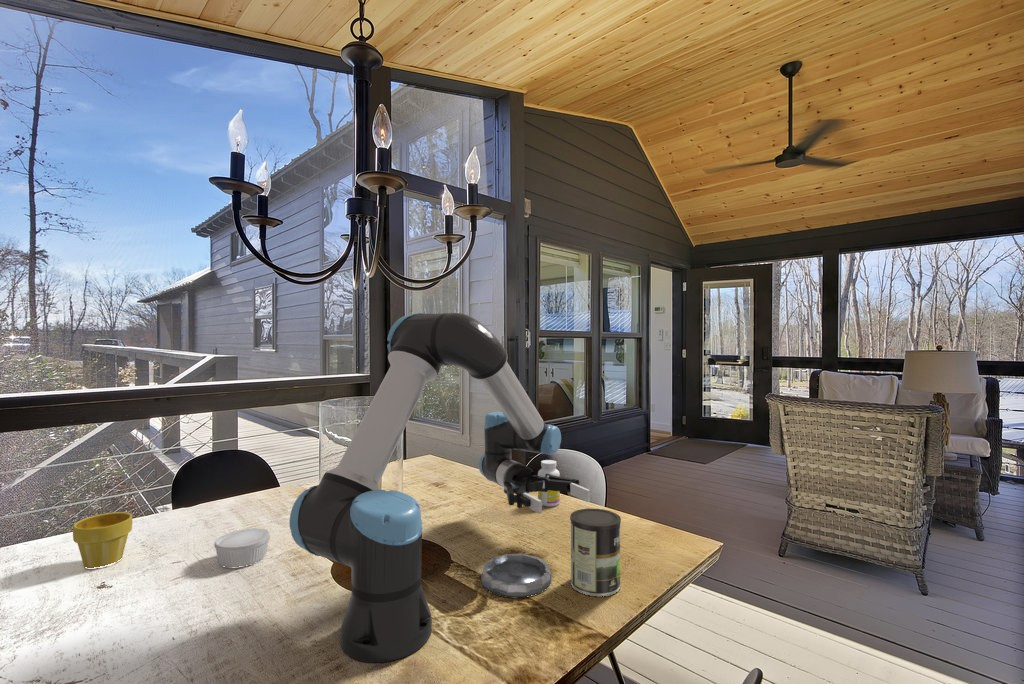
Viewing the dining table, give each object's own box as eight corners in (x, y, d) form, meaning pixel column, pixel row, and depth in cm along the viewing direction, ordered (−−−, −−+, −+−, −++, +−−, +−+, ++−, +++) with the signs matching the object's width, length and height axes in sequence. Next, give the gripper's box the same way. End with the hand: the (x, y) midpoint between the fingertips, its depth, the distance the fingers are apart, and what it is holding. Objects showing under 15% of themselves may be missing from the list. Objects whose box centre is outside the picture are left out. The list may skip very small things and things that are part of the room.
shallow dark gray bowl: (503, 605, 94) (503, 593, 94) (469, 573, 107) (469, 562, 107) (565, 585, 102) (565, 574, 101) (526, 557, 114) (526, 547, 114)
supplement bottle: (563, 502, 152) (563, 460, 152) (553, 508, 146) (553, 465, 146) (544, 498, 156) (544, 458, 155) (533, 504, 150) (534, 462, 150)
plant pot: (137, 562, 112) (136, 519, 112) (76, 578, 104) (75, 532, 104) (128, 548, 119) (127, 508, 119) (70, 563, 111) (70, 520, 111)
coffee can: (620, 574, 106) (620, 509, 106) (620, 600, 96) (621, 528, 96) (572, 570, 108) (572, 506, 108) (567, 594, 98) (568, 523, 98)
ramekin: (224, 551, 117) (224, 529, 117) (275, 547, 120) (274, 525, 120) (206, 574, 107) (206, 549, 106) (263, 568, 109) (263, 544, 109)
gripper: (555, 483, 136) (607, 507, 118) (473, 500, 123) (518, 529, 105) (554, 456, 136) (607, 476, 118) (473, 470, 123) (518, 495, 105)
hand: (565, 501), depth 111 cm, fingers open, 13 cm apart
